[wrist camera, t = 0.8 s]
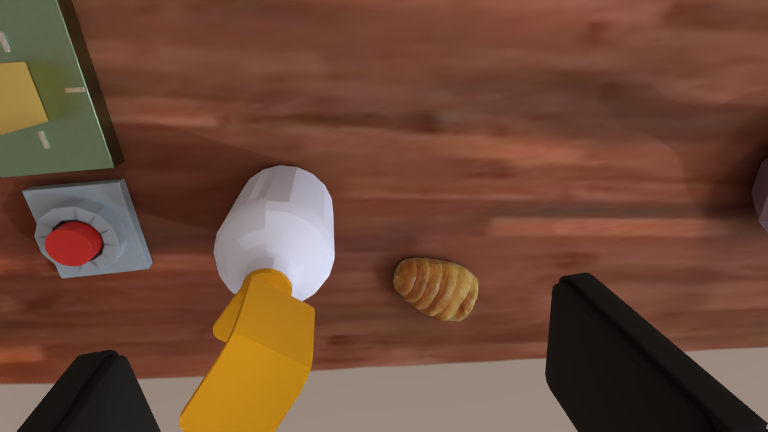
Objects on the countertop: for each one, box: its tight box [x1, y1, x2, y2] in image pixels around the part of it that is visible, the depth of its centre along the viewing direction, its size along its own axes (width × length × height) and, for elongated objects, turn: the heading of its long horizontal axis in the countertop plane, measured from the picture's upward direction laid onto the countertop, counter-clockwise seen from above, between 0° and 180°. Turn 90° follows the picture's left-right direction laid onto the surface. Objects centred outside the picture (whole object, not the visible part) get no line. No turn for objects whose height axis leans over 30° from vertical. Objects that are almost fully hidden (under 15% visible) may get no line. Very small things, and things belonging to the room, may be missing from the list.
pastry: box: [393, 257, 478, 321], centre depth 43 cm, size 9×7×4 cm
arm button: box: [45, 221, 102, 266], centre depth 35 cm, size 4×4×2 cm
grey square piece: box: [22, 179, 153, 278], centre depth 36 cm, size 9×8×3 cm
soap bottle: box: [180, 165, 335, 432], centre depth 28 cm, size 9×9×25 cm
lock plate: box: [0, 0, 124, 178], centre depth 32 cm, size 13×9×2 cm
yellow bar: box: [0, 62, 48, 135], centre depth 28 cm, size 4×2×5 cm, turn 3°
